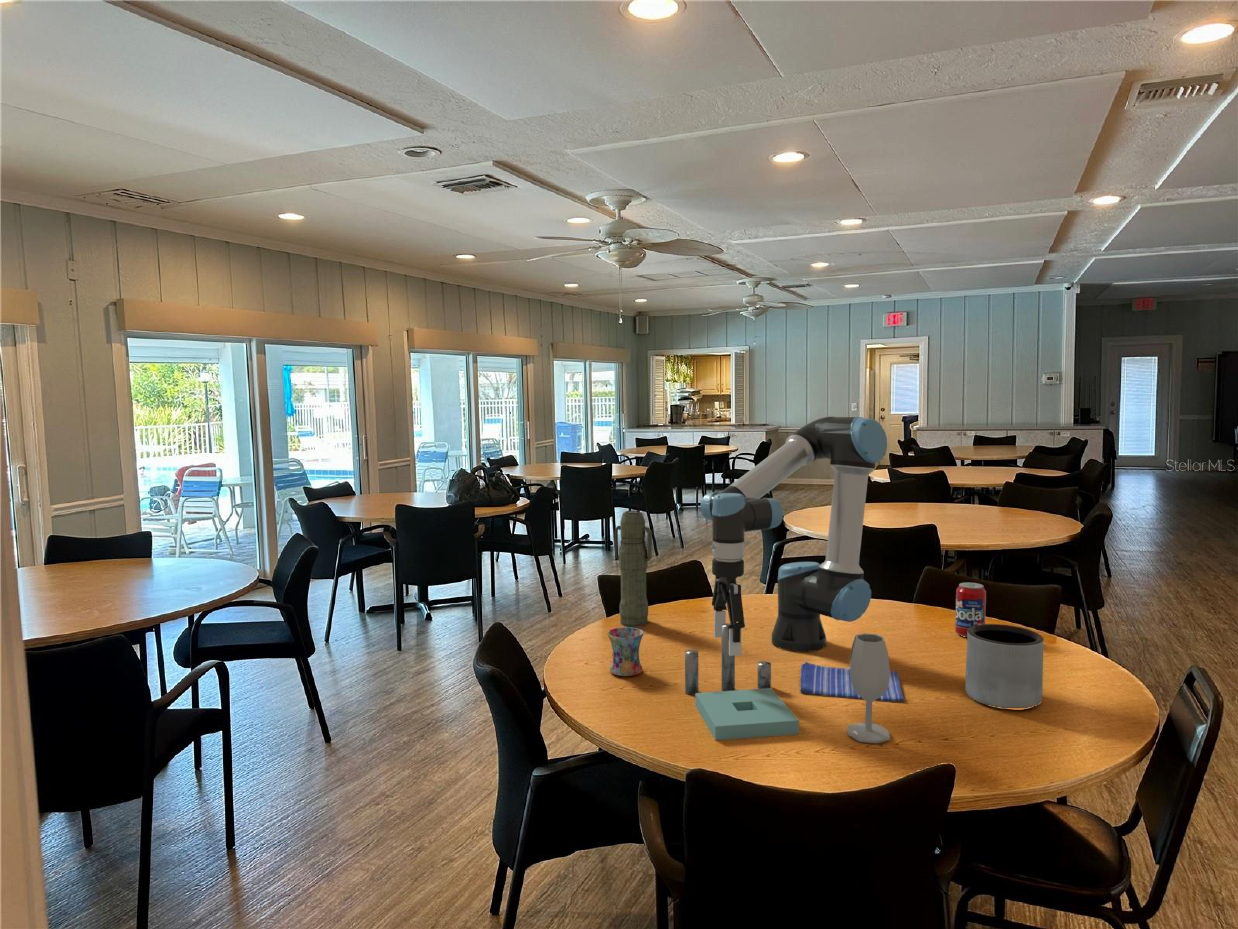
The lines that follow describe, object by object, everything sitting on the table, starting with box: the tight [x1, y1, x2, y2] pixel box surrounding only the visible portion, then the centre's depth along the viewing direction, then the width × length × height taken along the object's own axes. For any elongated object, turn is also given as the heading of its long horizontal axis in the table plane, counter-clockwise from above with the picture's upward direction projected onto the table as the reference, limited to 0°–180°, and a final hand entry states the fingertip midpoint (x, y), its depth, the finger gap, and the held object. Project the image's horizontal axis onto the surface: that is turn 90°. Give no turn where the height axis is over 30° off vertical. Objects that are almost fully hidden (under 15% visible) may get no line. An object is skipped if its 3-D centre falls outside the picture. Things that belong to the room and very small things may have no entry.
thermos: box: [613, 510, 653, 628], centre depth 243 cm, size 9×12×35 cm
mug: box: [607, 626, 645, 677], centre depth 203 cm, size 12×9×11 cm
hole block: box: [694, 687, 800, 741], centre depth 172 cm, size 18×18×3 cm
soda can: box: [954, 581, 987, 638], centre depth 227 cm, size 8×8×15 cm
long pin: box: [721, 622, 736, 691], centre depth 188 cm, size 3×3×16 cm
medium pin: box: [684, 649, 700, 696], centre depth 188 cm, size 3×3×10 cm
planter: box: [964, 623, 1045, 708], centre depth 181 cm, size 16×16×16 cm
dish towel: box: [799, 661, 905, 703], centre depth 191 cm, size 17×24×3 cm
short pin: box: [757, 660, 772, 689], centre depth 190 cm, size 3×3×6 cm
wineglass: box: [847, 632, 891, 744], centre depth 162 cm, size 9×9×21 cm
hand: (727, 645), depth 188 cm, fingers open, 13 cm apart
